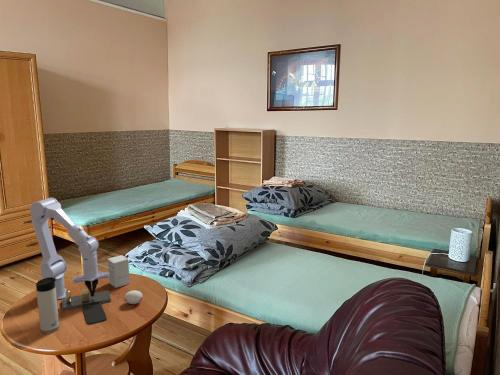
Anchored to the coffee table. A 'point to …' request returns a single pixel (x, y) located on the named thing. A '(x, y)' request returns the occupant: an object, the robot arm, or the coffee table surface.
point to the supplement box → (118, 271)
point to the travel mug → (47, 305)
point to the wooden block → (85, 294)
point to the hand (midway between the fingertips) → (92, 295)
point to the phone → (94, 314)
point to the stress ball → (133, 297)
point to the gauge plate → (77, 301)
